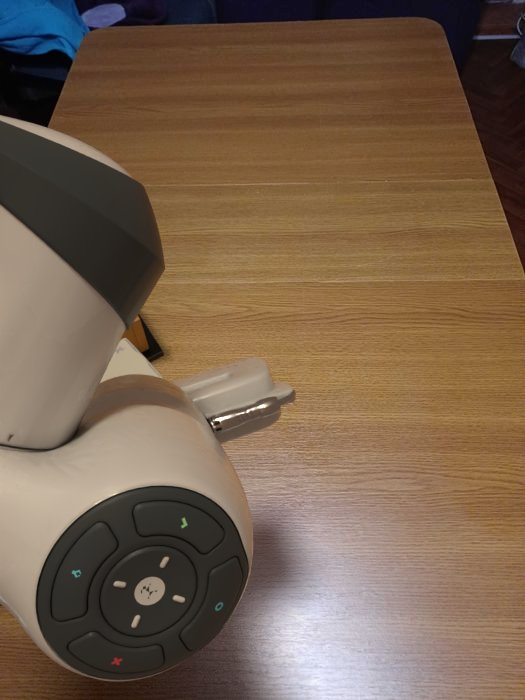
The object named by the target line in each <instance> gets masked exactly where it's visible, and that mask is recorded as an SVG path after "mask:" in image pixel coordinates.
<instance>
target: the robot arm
mask: <svg viewBox="0 0 525 700" xmlns="http://www.w3.org/2000/svg"><path fill="white" fill-rule="evenodd" d="M163 250H164V249H163V244H162V238H161V235H160V231H159V225H158V221H157V219H156V215H155V212H154V209H153V206H152V203H151V200H150V197H149V195H148V193H147V190H146V188H145V186H144V184H142V183H141V182H139V181H138V180H136V179H135V178H134V177H133V176H132V175H131V174H130V173H129V172H128V171H127V170H126V169H125V168H124V167H123V166H121V165H120V164H119V163H118V162H117V161H115V160H114V159H112V158H111V157H110V156H108V155H107V154H105V153H104V152H102V151H100V150H99V149H96V148H95V147H93V146H91V145H90V144H89V143H85V142H84V141H82V140H79V139H77V138H75V137H73V136H71V135H68V134H66V133H63V132H61V131H58V130H55V129H52V128H49V127H46V126H44V125H40V124H36V123H33V122H29V121H26V120H22V119H18V118H13V117H10V116H5V115H1V114H0V607H4V608H5V609H6V610H7V612H9V613H10V614H11V615H12V617H14V619H15V620H16V621H17V623H18V624H19V625H20V626H21V628H22V629H23V630H24V631H25V633H26V634H27V636H28V637H29V638H30V639H31V641H32V642H33V643H34V644H35V646H36V647H38V648H39V649H40V651H42V652H43V654H44V655H45V656H47V657H48V658H49V659H50V660H52V661H53V662H55V663H56V664H58V665H59V666H61V667H62V668H64V669H66V670H68V671H69V672H73V673H75V674H78V675H80V676H83V677H87V678H91V679H94V680H98V681H105V682H106V681H107V682H129V681H130V682H131V681H137V680H142V679H147V678H150V677H153V676H156V675H159V674H162V673H164V672H167V671H169V670H171V669H173V668H175V667H178V666H179V665H180V664H182V663H184V662H186V661H187V660H188V659H190V658H191V657H193V656H194V655H196V654H197V653H199V652H200V651H201V650H203V649H204V648H205V647H206V646H207V645H208V644H210V642H212V641H213V639H215V638H216V636H218V635H219V633H220V632H221V631H222V630H223V628H224V627H225V626H226V624H227V623H228V622H229V620H230V619H231V617H232V616H233V614H234V612H235V611H236V609H237V608H238V605H240V604H239V603H240V601H241V600H242V598H243V596H244V593H245V591H246V589H247V586H248V584H249V579H250V575H251V573H252V572H251V571H252V567H253V566H252V564H253V557H254V527H253V518H252V514H251V509H250V504H249V501H248V498H247V495H246V491H245V489H244V487H243V483H242V482H241V479H240V476H239V475H238V472H237V471H236V467H235V466H234V464H233V462H232V461H231V459H230V457H229V455H228V454H227V452H226V451H225V448H224V447H223V444H226V443H228V442H231V441H234V440H237V439H240V438H243V437H246V436H249V435H251V434H254V433H257V432H260V431H263V430H265V429H266V428H269V427H271V426H273V425H274V424H275V423H277V422H278V421H279V420H280V418H281V416H282V408H281V407H282V406H285V405H288V404H291V403H294V402H295V401H296V399H297V397H296V395H297V392H296V390H295V389H294V387H293V386H292V385H290V384H288V383H287V382H281V381H280V382H275V381H274V378H273V375H272V372H271V369H270V366H269V364H268V363H267V361H266V360H265V359H264V358H262V357H261V356H250V357H249V356H248V357H245V358H241V359H238V360H235V361H232V362H228V363H226V364H222V365H219V366H216V367H214V368H210V369H207V370H204V371H201V372H197V373H195V374H192V375H187V376H185V377H182V378H178V379H176V380H173V381H169V380H167V379H164V378H163V377H162V378H163V379H162V378H159V377H155V376H150V375H143V374H130V375H122V376H118V377H114V378H111V379H108V380H106V381H104V382H101V379H102V377H103V375H104V373H105V371H106V369H107V367H108V365H109V363H110V361H111V359H112V356H113V354H114V352H115V350H116V348H117V346H118V344H119V342H120V340H121V338H122V336H123V333H124V331H128V330H129V329H130V327H131V326H132V324H133V322H134V321H135V319H136V317H137V316H138V314H139V315H140V313H141V311H142V309H143V307H144V305H145V304H146V303H147V301H148V299H149V297H150V295H151V294H152V292H153V291H154V289H155V287H156V285H157V284H158V282H159V280H160V279H161V277H162V275H163V274H164V272H165V270H166V263H165V256H164V251H163ZM100 382H101V383H100Z"/></svg>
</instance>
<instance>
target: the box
mask: <svg viewBox="0 0 525 700" xmlns="http://www.w3.org/2000/svg"><path fill="white" fill-rule="evenodd" d="M130 374H143V375H150V376H155V377H159V378H162V379H164V378H163V376H162V374H161V373H159V371H158V370H157V368H155V366H154V365H153V364H152V363H151V362H149V361H148V360H147V359H146V358H145V357H144V356H143V355H142V354H141V353H140V352H139V351H138V350H137V348H136V347H135V346H134V345H133V344H132V343H131V342H130V341H129V340H128V339H127V338H123V339H121V340H120V342H119V344H118V346H117V348H116V350H115V352H114V354H113V356H112V359H111V361H110V363H109V365H108V367H107V369H106V371H105V373H104V375H103V377H102V379H101V382H104V381H106V380H108V379H111V378H114V377H118V376H122V375H130ZM101 382H100V383H101Z"/></svg>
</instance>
